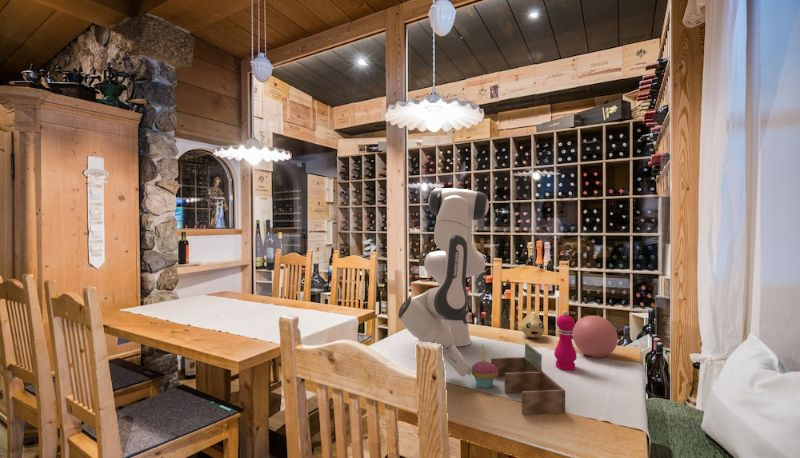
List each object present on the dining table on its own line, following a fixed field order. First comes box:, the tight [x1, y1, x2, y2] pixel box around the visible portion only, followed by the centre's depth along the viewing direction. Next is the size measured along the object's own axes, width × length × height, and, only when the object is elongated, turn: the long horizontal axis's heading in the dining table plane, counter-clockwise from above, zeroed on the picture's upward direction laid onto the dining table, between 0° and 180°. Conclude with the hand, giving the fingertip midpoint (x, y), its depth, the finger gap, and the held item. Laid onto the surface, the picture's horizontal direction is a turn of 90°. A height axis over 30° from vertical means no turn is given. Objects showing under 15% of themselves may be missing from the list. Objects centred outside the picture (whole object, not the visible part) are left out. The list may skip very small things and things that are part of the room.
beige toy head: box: [520, 313, 545, 340], centre depth 173 cm, size 10×12×11 cm
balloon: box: [572, 315, 619, 358], centre depth 152 cm, size 15×20×15 cm
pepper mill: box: [554, 310, 577, 372], centre depth 138 cm, size 7×7×20 cm
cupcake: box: [471, 346, 498, 389], centre depth 124 cm, size 9×8×12 cm
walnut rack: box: [490, 343, 566, 416], centre depth 118 cm, size 12×26×11 cm, turn 5°
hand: (470, 371), depth 123 cm, fingers closed, pressing on cupcake
